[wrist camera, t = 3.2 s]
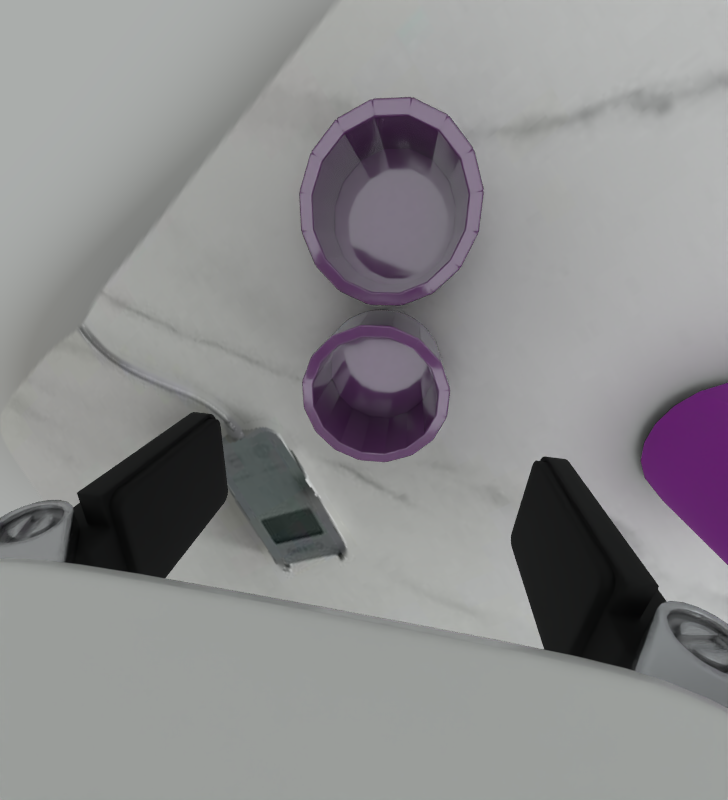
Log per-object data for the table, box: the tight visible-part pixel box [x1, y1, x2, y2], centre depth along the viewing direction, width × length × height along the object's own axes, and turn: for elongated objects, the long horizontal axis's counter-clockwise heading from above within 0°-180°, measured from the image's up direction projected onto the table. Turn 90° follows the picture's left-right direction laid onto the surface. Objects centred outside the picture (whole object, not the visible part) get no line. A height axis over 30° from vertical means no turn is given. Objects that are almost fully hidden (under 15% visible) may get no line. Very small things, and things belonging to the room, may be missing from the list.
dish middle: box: [302, 310, 450, 462], centre depth 18 cm, size 7×7×4 cm
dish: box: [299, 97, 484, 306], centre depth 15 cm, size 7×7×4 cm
